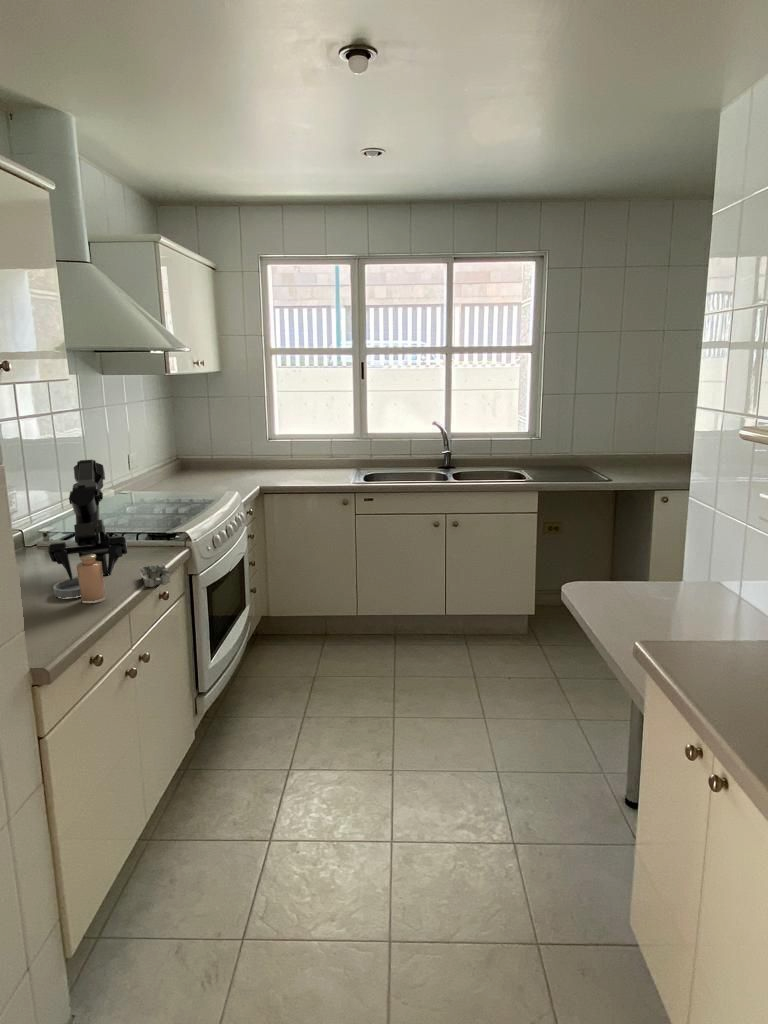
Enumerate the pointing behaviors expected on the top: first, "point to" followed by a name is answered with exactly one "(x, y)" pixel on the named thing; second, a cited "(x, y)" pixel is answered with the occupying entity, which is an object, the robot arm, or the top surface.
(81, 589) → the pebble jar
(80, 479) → the robot arm
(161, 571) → the egg carton
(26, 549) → the top surface
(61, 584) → the slate bowl
